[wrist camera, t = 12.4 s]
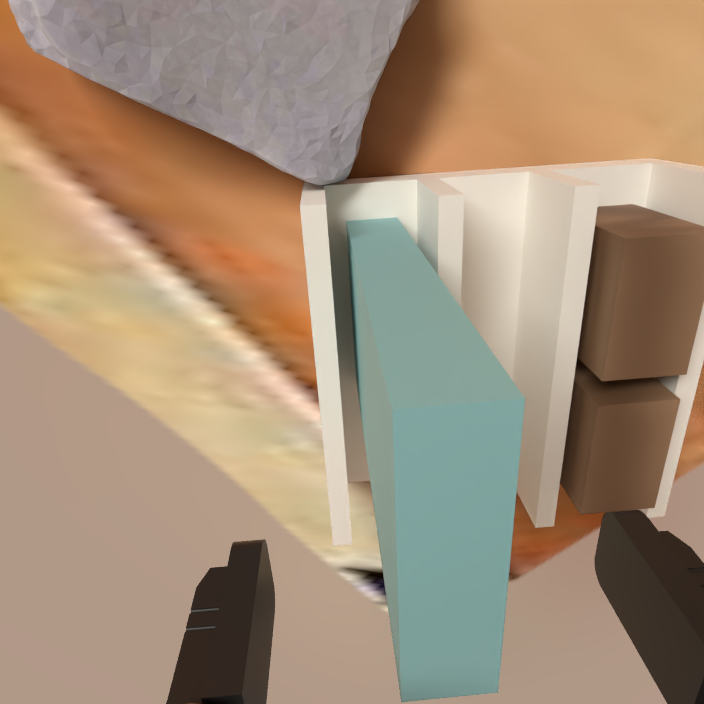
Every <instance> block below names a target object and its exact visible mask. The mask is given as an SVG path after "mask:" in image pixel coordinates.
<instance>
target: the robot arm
mask: <svg viewBox="0 0 704 704" xmlns="http://www.w3.org/2000/svg"><path fill="white" fill-rule="evenodd" d="M595 570H596V575H597V578H598V581H599V584H600V586H601V588H602V590H603V591H604V593H605V595H606V596H607V598H608V600H609V602H610V603H611V605H612V607H613V609H614V610H615V612H616V614H617V616H618V617H619V619H620V621H621V623H622V624H623V626H624V628H625V630H626V631H627V633H628V635H629V637H630V639H631V640H632V642H633V644H634V646H635V647H636V649H637V651H638V653H639V655H640V656H641V658H642V660H643V661H644V663H645V665H646V667H647V668H648V670H649V672H650V674H651V676H652V677H653V679H654V681H655V682H656V684H657V686H658V688H659V690H660V691H661V693H662V695H663V697H664V698H665V700H666V702H667V704H704V563H703V562H702V561H701V559H700V558H699V557H698V556H697V555H696V553H695V552H694V551H693V550H692V548H691V547H690V546H688V545H687V544H685V543H684V542H683V541H681V540H680V539H678V538H677V537H676V536H674V535H673V534H671V533H670V532H669V531H660V532H659V531H658V530H657V529H656V528H655V526H654V525H653V524H652V522H651V521H650V520H649V519H648V517H647V516H646V515H645V514H644V513H643V512H642V511H640V510H629V511H617V512H606V513H605V514H604V515H603V518H602V523H601V528H600V534H599V539H598V544H597V550H596V555H595ZM274 614H275V591H274V582H273V577H272V571H271V565H270V560H269V554H268V548H267V543H266V540H253V541H241V542H234V543H233V544H232V547H231V551H230V556H229V562H228V566H227V567H215V568H210V569H209V571H208V572H207V574H206V575H205V576H204V578H203V579H202V580H201V582H200V583H199V585H198V586H197V588H196V591H195V595H194V599H193V603H192V607H191V614H190V615H189V618H188V622H187V626H186V632H185V634H184V638H183V642H182V645H181V650H180V653H179V657H178V661H177V665H176V669H175V673H174V677H173V681H172V684H171V688H170V692H169V696H168V700H167V703H166V704H266V700H267V689H268V678H269V668H270V657H271V646H272V636H273V624H274Z"/></svg>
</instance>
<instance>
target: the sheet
mask: <svg viewBox="0 0 704 704" xmlns="http://www.w3.org/2000/svg"><path fill="white" fill-rule="evenodd" d="M346 232H347V247H348V263H349V279H350V294H351V310H352V326H353V341H354V357H355V373H356V384H357V391H358V398H359V405H360V412H361V419H362V426H363V433H364V441H365V448H366V455H367V462H368V469H369V476H370V483H371V490H372V497H373V504H374V511H375V519H376V526H377V533H378V540H379V547H380V554H381V561H382V568H383V575H384V582H385V589H386V596H387V604H388V611H389V618H390V624H391V632H392V639H393V646H394V653H395V660H396V667H397V674H398V681H399V689H400V696H401V702H407V701H417V700H427V699H437V698H447V697H457V696H467V695H478V694H487V693H497V692H498V686H499V675H500V664H501V654H502V643H503V632H504V621H505V611H506V600H507V589H508V578H509V568H510V557H511V546H512V535H513V524H514V514H515V503H516V492H517V481H518V471H519V460H520V449H521V438H522V427H523V417H524V406H525V398H524V396H523V395H522V393H521V392H520V390H519V389H518V388H517V386H516V385H515V383H514V382H513V381H512V379H511V378H510V376H509V375H508V373H507V372H506V371H505V369H504V368H503V366H502V365H501V364H500V362H499V361H498V359H497V358H496V356H495V355H494V354H493V352H492V351H491V349H490V348H489V347H488V345H487V344H486V342H485V341H484V339H483V338H482V337H481V335H480V334H479V332H478V331H477V330H476V328H475V327H474V325H473V324H472V322H471V321H470V320H469V318H468V317H467V315H466V314H465V313H464V311H463V310H462V308H461V307H460V306H459V304H458V303H457V301H456V300H455V298H454V297H453V296H452V294H451V293H450V291H449V290H448V289H447V287H446V286H445V284H444V283H443V281H442V280H441V279H440V277H439V276H438V274H437V273H436V272H435V270H434V269H433V267H432V266H431V264H430V263H429V262H428V260H427V259H426V257H425V256H424V255H423V253H422V252H421V250H420V249H419V247H418V246H417V245H416V243H415V242H414V240H413V239H412V238H411V236H410V235H409V233H408V232H407V231H406V229H405V228H404V226H403V225H402V223H401V222H400V221H399V219H398V218H397V217H394V218H380V219H366V220H352V221H346Z"/></svg>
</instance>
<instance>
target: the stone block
mask: <svg viewBox="0 0 704 704" xmlns="http://www.w3.org/2000/svg"><path fill="white" fill-rule="evenodd" d="M8 1H9V4H10V7H11V10H12V12H13V14H14V15H15V18H16V21H17V24H18V27H19V28H20V31H21V32H22V34H23V35H24V37H25V39H26V42H27V44H28V45H29V46H30V47H31V48H32V49H33V50H34V51H35V52H36V53H38V54H41V55H43V56H45V57H47V58H49V59H51V60H53V61H55V62H57V63H59V64H61V65H62V66H64V67H66V68H68V69H70V70H72V71H74V72H76V73H78V74H80V75H82V76H84V77H86V78H88V79H90V80H92V81H94V82H96V83H98V84H100V85H103V86H105V87H107V88H109V89H111V90H113V91H116V92H118V93H120V94H122V95H124V96H126V97H128V98H130V99H132V100H135V101H137V102H139V103H141V104H143V105H145V106H148V107H150V108H152V109H154V110H157V111H159V112H161V113H164V114H166V115H168V116H171V117H173V118H175V119H178V120H180V121H182V122H185V123H187V124H189V125H192V126H194V127H197V128H199V129H201V130H203V131H205V132H208V133H210V134H212V135H214V136H216V137H218V138H220V139H222V140H224V141H226V142H228V143H230V144H232V145H234V146H236V147H238V148H240V149H242V150H244V151H246V152H249V153H251V154H253V155H255V156H257V157H259V158H260V159H262V160H264V161H265V162H267V163H269V164H270V165H272V166H274V167H276V168H277V169H279V170H281V171H283V172H285V173H288V174H290V175H292V176H294V177H296V178H298V179H301V180H303V181H306V182H309V183H312V184H316V185H326V184H330V183H336V182H340V181H344V180H346V178H347V177H348V175H349V174H350V172H351V169H352V166H353V163H354V161H355V159H356V157H357V155H358V151H359V148H360V144H361V131H362V128H363V123H364V120H365V118H366V116H367V113H368V111H369V107H370V102H371V99H372V95H373V94H374V92H375V90H376V87H377V84H378V81H379V79H380V77H381V75H382V73H383V70H384V68H385V66H386V63H387V61H388V58H389V56H390V53H391V51H392V50H393V48H394V47H395V45H396V43H397V40H398V38H399V35H400V33H401V30H402V28H403V26H404V24H405V22H406V21H407V19H408V18H409V17H410V16H411V14H412V13H413V11H414V9H415V8H416V6H417V4H418V2H419V1H420V0H8Z"/></svg>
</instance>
